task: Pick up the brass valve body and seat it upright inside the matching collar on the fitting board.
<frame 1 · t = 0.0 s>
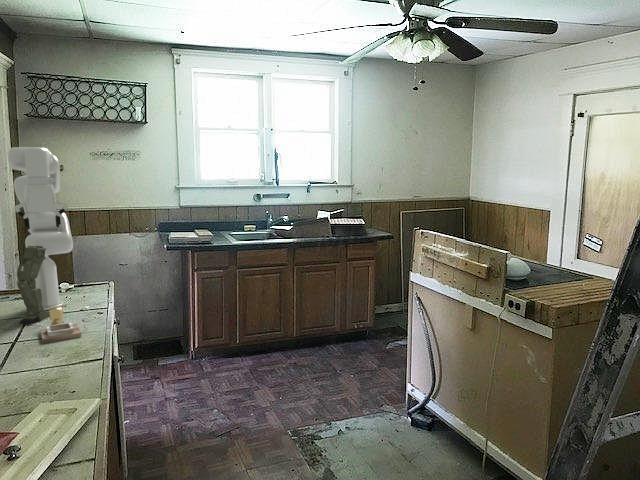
hand: (43, 227, 190), 37 cm above the worktop, tool pointing down, fingers open, 9 cm apart
valve body: (57, 326, 192), on the worktop
mechanical leg: (36, 319, 201), on the worktop
fitting board: (60, 335, 182), on the worktop
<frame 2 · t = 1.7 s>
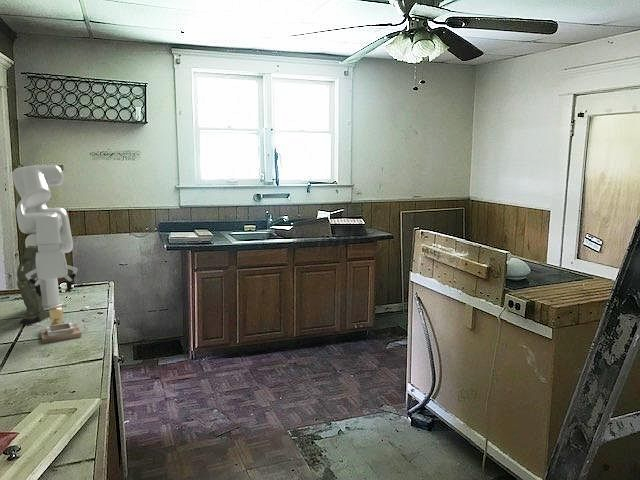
hand: (54, 293, 189), 13 cm above the worktop, tool pointing down, fingers open, 9 cm apart
nothing on the worktop moved.
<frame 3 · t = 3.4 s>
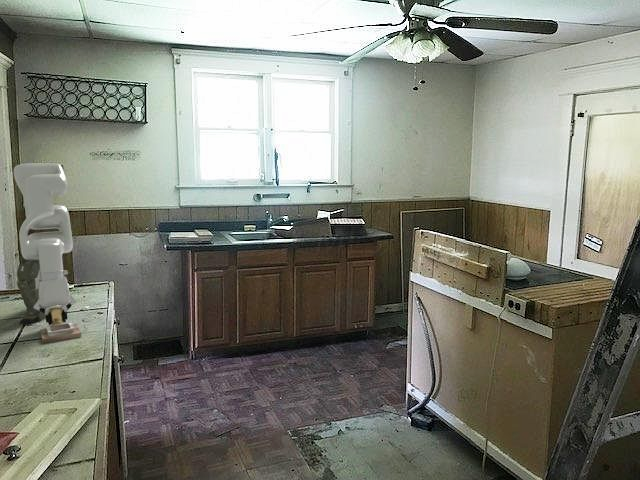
hand: (57, 322, 192), 2 cm above the worktop, tool pointing down, fingers closed on valve body, 4 cm apart
valve body: (57, 326, 192), on the worktop, touching gripper
everything else where it was.
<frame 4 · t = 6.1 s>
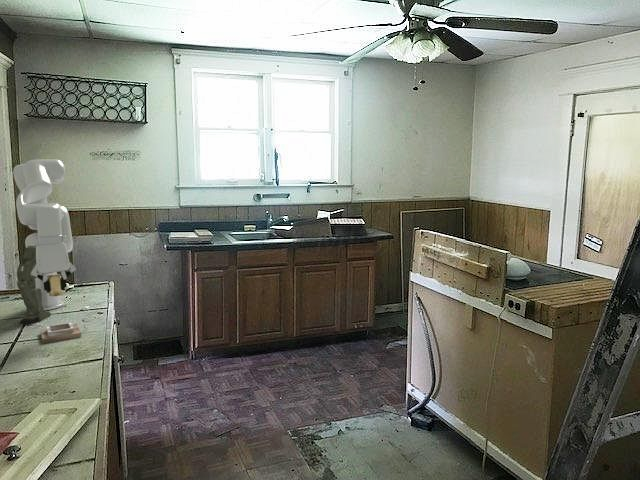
hand: (55, 290, 182), 16 cm above the worktop, tool pointing down, fingers closed on valve body, 4 cm apart
valve body: (56, 294, 182), point 14 cm above the worktop, touching gripper
everything else where it was.
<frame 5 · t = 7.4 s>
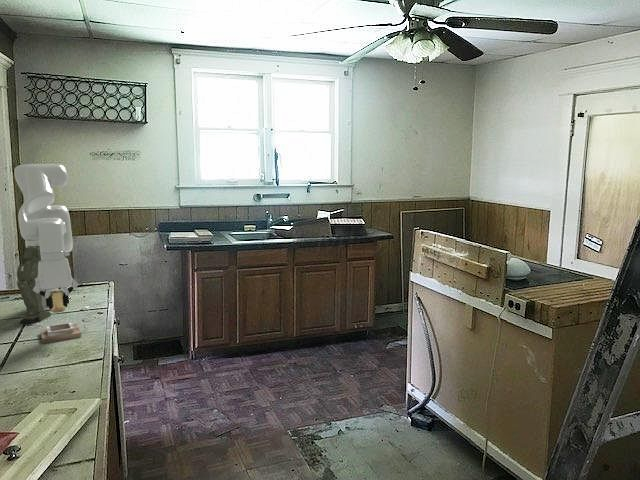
hand: (58, 306, 180), 11 cm above the worktop, tool pointing down, fingers closed on valve body, 4 cm apart
valve body: (58, 310, 181), point 9 cm above the worktop, touching gripper
everything else where it was.
when the fingers open (4 cm above the worktop, at t = 8.8 s): valve body drops 1 cm, resting on fitting board.
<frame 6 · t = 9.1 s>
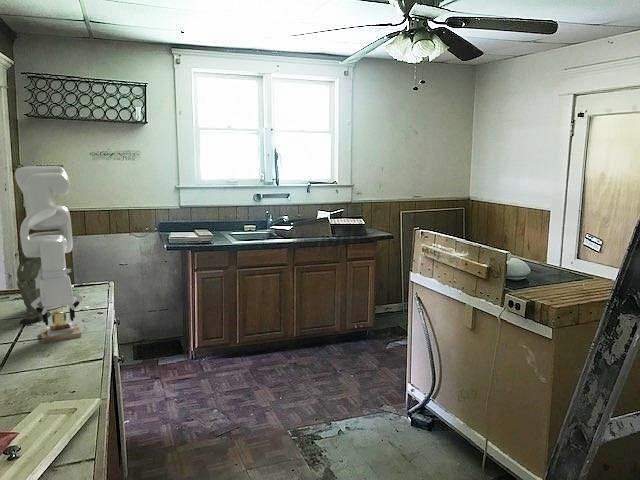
hand: (59, 321, 182), 5 cm above the worktop, tool pointing down, fingers open, 7 cm apart
valve body: (60, 331, 182), point 1 cm above the worktop, touching fitting board
everything else where it was.
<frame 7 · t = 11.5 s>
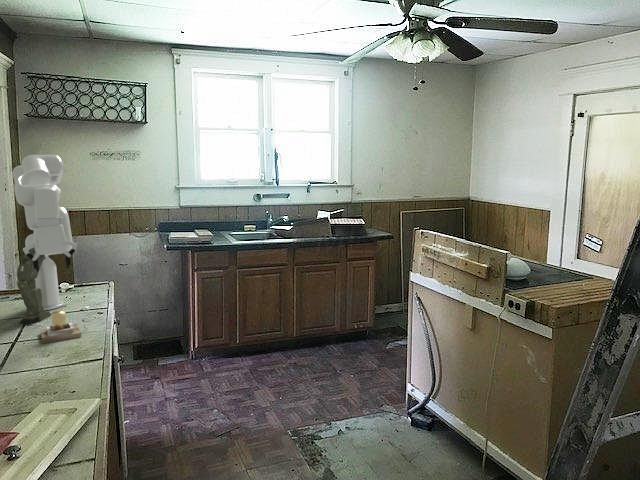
hand: (52, 268, 184), 23 cm above the worktop, tool pointing down, fingers open, 9 cm apart
nothing on the worktop moved.
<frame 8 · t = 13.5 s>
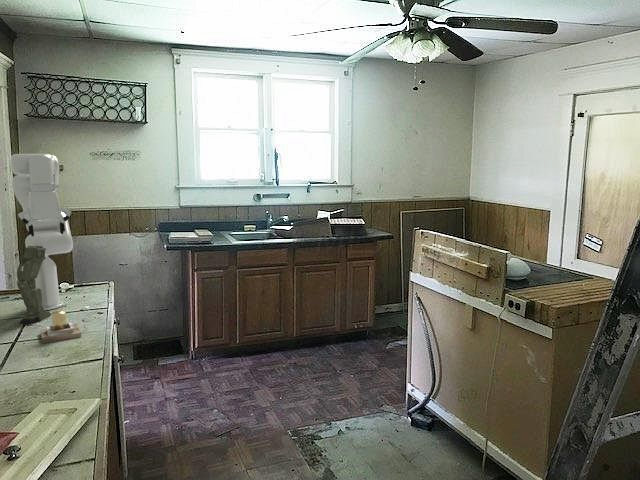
hand: (47, 234, 189), 34 cm above the worktop, tool pointing down, fingers open, 9 cm apart
nothing on the worktop moved.
at the end: valve body 0.1 cm off-centre on the fitting board, point 1.5 cm above the fitting board's base; valve body tilted 1°; the gripper is holding nothing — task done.
